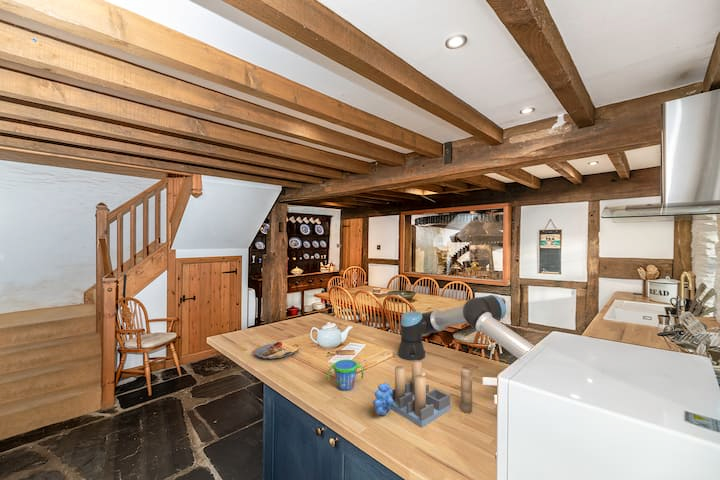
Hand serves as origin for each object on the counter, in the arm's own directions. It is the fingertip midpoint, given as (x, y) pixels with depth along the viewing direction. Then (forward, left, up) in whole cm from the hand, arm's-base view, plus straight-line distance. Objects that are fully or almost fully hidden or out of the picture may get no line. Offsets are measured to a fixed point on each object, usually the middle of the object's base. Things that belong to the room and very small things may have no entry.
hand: (487, 389), depth 113 cm
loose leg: (+5, -6, -9) cm, 12 cm away
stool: (+18, -18, -9) cm, 27 cm away
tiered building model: (+5, -30, -9) cm, 32 cm away
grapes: (+31, -23, -9) cm, 40 cm away
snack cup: (+30, -49, -9) cm, 58 cm away
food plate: (+37, -106, -9) cm, 113 cm away
